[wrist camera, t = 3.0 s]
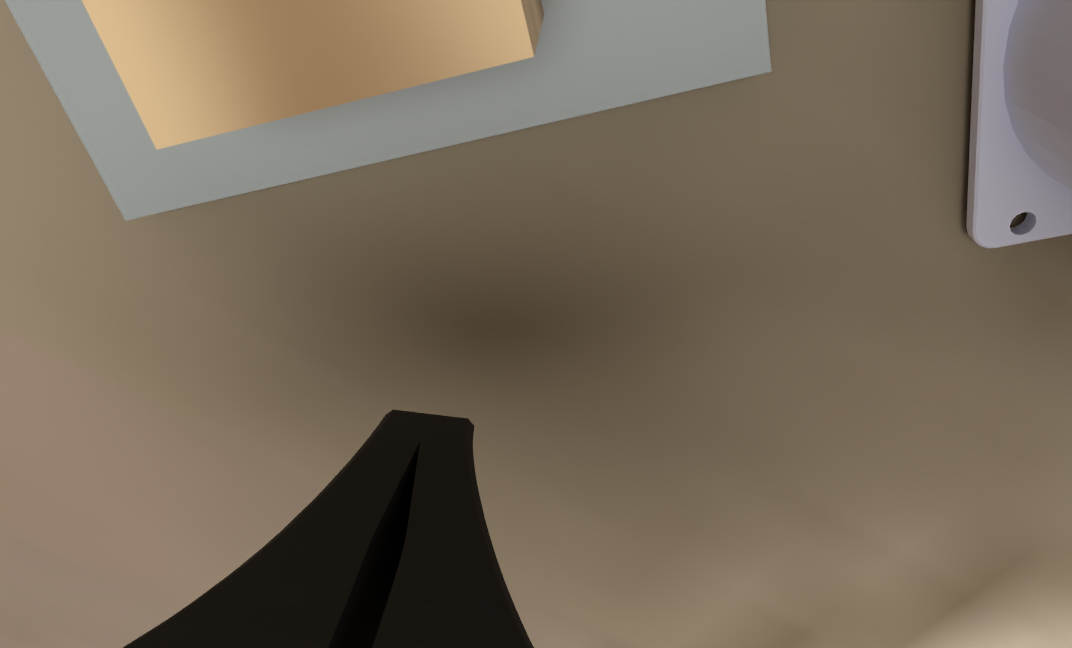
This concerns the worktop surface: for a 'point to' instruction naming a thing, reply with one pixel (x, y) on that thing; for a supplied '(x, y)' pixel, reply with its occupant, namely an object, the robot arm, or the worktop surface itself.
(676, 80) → the board
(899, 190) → the worktop surface
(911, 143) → the worktop surface
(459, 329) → the worktop surface
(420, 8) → the oak block
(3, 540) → the worktop surface
